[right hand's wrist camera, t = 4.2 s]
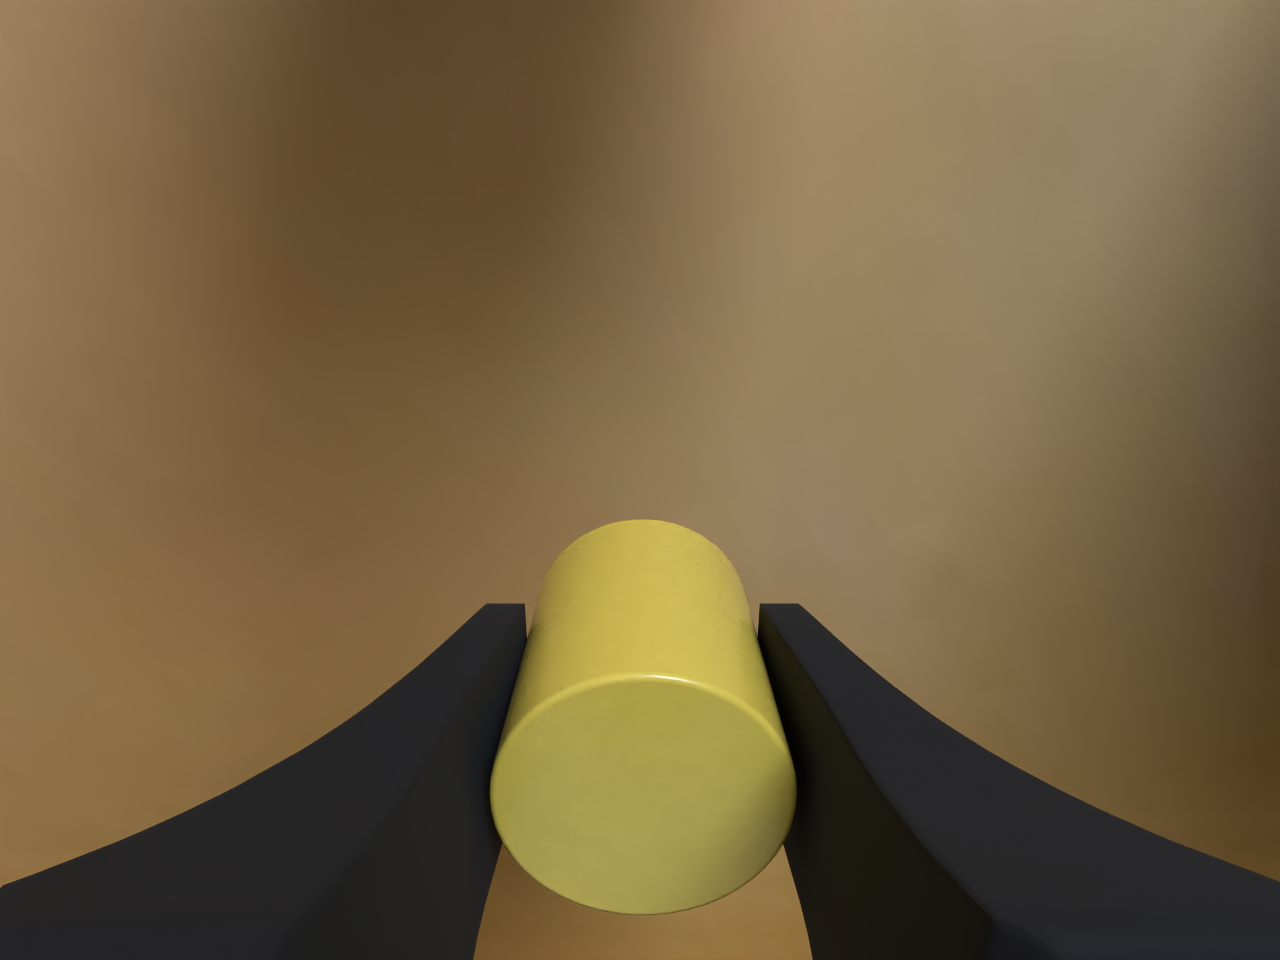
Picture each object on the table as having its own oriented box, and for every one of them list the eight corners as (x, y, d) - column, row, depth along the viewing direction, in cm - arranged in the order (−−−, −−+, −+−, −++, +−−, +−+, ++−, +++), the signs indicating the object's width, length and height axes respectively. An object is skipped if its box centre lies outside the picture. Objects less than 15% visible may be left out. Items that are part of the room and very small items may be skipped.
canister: (614, 730, 13) (604, 958, 9) (496, 587, 12) (423, 772, 8) (784, 637, 13) (854, 838, 9) (673, 477, 12) (691, 618, 8)
